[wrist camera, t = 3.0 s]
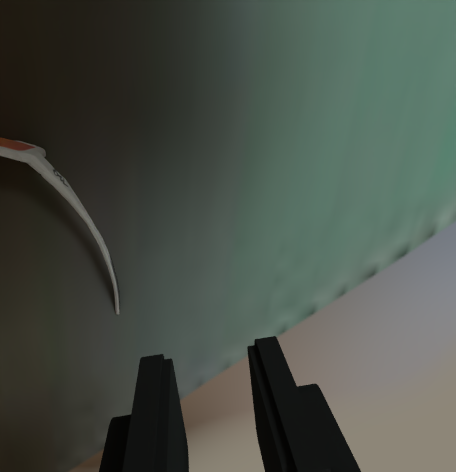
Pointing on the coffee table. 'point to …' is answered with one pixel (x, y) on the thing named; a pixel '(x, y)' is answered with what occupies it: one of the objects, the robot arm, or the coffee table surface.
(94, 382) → the coffee table surface
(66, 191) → the sunglasses
